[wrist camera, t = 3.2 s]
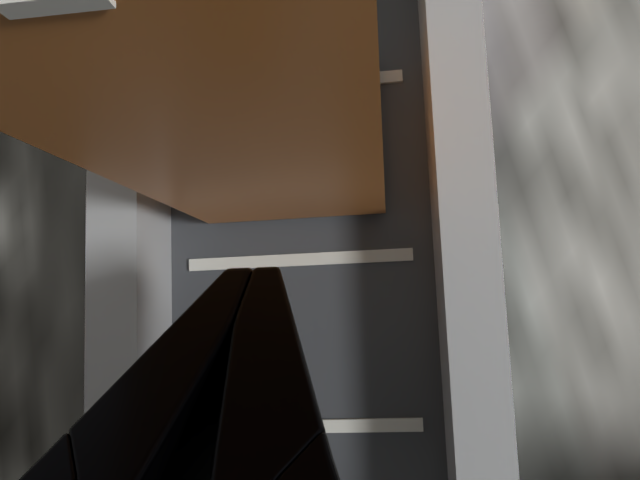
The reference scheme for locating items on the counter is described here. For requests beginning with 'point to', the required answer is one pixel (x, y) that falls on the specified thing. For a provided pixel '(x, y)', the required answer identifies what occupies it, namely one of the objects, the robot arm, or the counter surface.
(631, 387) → the counter surface
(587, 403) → the counter surface
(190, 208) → the fader knob
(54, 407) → the counter surface
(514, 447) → the fader console
